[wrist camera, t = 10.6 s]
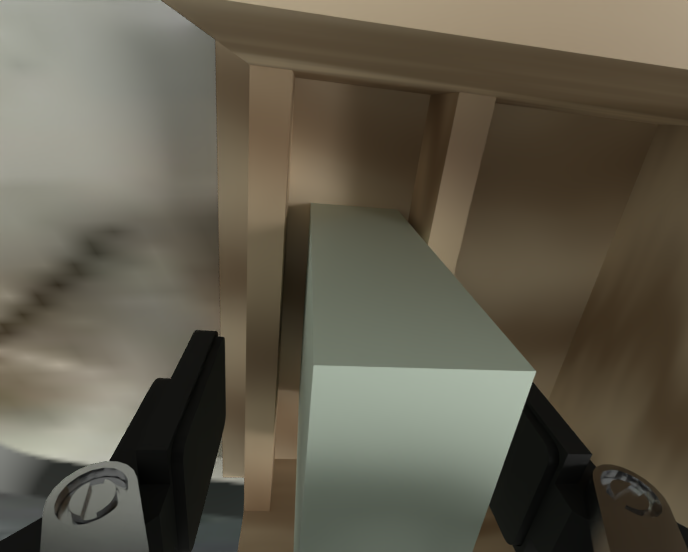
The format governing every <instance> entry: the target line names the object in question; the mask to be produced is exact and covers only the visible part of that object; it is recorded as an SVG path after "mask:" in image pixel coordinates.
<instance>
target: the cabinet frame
mask: <svg viewBox="0 0 688 552" xmlns="http://www.w3.org/2000/svg"><path fill="white" fill-rule="evenodd" d="M161 1H163V2H164V3H166V4H167V5H168V6H170V7H171V8H172V9H174V10H175V11H177V12H178V13H179V14H181V15H182V16H183V17H185V18H186V19H188V20H189V21H190V22H192V23H193V24H194V25H196V26H197V27H199V28H200V29H201V30H203V31H204V32H205V33H207V34H208V35H210V36H211V37H212V38H214V39H215V53H216V111H217V168H218V225H219V282H220V337H224V338H225V378H226V419H225V426H224V430H223V434H222V453H223V477H244V514H243V521H242V527H241V534H240V540H239V546H238V552H294V524H295V495H296V466H297V437H298V408H299V385H300V369H301V352H302V336H303V320H304V303H305V287H306V271H307V255H308V238H309V222H310V206H311V203H319V204H332V205H345V206H359V207H372V208H385V209H397V210H398V211H399V212H400V213H401V214H402V216H403V217H404V218H405V219H406V220H407V221H408V223H409V224H410V225H411V226H412V227H413V228H414V230H415V231H416V232H417V233H418V234H419V235H420V237H421V238H422V239H423V240H424V241H425V242H426V244H427V245H428V246H429V247H430V248H431V249H432V250H433V252H434V253H435V254H436V255H437V256H438V257H439V259H440V260H441V261H442V262H443V263H444V264H445V266H446V267H447V268H448V269H449V270H450V271H451V273H452V274H453V275H454V276H455V277H456V278H457V280H458V281H459V282H460V283H461V284H462V285H463V287H464V288H465V289H466V290H467V291H468V292H469V294H470V295H471V296H472V297H473V298H474V299H475V301H476V302H477V303H478V304H479V305H480V306H481V308H482V309H483V310H484V311H485V312H486V313H487V315H488V316H489V317H490V318H491V319H492V320H493V322H494V323H495V324H496V325H497V326H498V327H499V329H500V330H501V331H502V332H503V333H504V334H505V336H506V337H507V338H508V339H509V340H510V341H511V343H512V344H513V345H514V346H515V347H516V348H517V350H518V351H519V352H520V353H521V354H522V355H523V357H524V358H525V359H526V360H527V361H528V362H529V364H530V365H531V366H532V367H533V368H534V369H535V371H536V374H535V376H534V379H533V383H534V384H535V385H536V386H537V387H538V389H539V390H540V391H541V392H542V393H543V395H544V396H545V397H546V398H547V400H548V401H549V402H550V403H551V404H552V406H553V407H554V408H555V409H556V411H557V412H558V413H559V414H560V415H561V417H562V418H563V419H564V420H565V421H566V423H567V424H568V425H569V426H570V428H571V429H572V430H573V431H574V432H575V434H576V435H577V436H578V437H579V439H580V440H581V441H582V442H583V443H584V445H585V446H586V447H587V448H588V450H589V451H590V452H591V453H592V456H591V458H590V460H591V461H592V462H593V464H594V465H595V466H596V467H597V466H600V465H602V464H612V465H616V466H620V467H623V468H625V469H628V470H630V471H632V472H634V473H636V474H637V475H639V476H641V477H642V478H644V479H645V480H647V481H648V482H649V483H650V484H652V485H653V486H654V487H655V488H656V489H657V490H658V491H659V492H660V493H661V494H662V495H663V496H664V498H665V499H666V501H667V503H668V504H669V506H670V508H671V511H672V513H673V516H674V518H675V520H676V522H677V523H679V524H681V525H683V526H685V527H687V528H688V0H161ZM473 552H515V550H514V548H513V545H509V544H508V543H507V542H506V541H505V539H504V537H503V535H502V533H501V531H500V528H499V526H498V524H497V522H496V520H495V517H494V515H493V513H492V511H491V509H490V506H488V509H487V512H486V515H485V518H484V520H483V523H482V526H481V529H480V532H479V535H478V537H477V540H476V543H475V546H474V549H473Z"/></svg>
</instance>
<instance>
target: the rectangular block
mask: <svg viewBox="0 0 688 552" xmlns="http://www.w3.org/2000/svg"><path fill="white" fill-rule="evenodd" d="M535 374H536V371H535V369H534V368H533V367H532V366H531V365H530V364H529V362H528V361H527V360H526V359H525V358H524V357H523V355H522V354H521V353H520V352H519V351H518V350H517V348H516V347H515V346H514V345H513V344H512V343H511V341H510V340H509V339H508V338H507V337H506V336H505V334H504V333H503V332H502V331H501V330H500V329H499V327H498V326H497V325H496V324H495V323H494V322H493V320H492V319H491V318H490V317H489V316H488V315H487V313H486V312H485V311H484V310H483V309H482V308H481V306H480V305H479V304H478V303H477V302H476V301H475V299H474V298H473V297H472V296H471V295H470V294H469V292H468V291H467V290H466V289H465V288H464V287H463V285H462V284H461V283H460V282H459V281H458V280H457V278H456V277H455V276H454V275H453V274H452V273H451V271H450V270H449V269H448V268H447V267H446V266H445V264H444V263H443V262H442V261H441V260H440V259H439V257H438V256H437V255H436V254H435V253H434V252H433V250H432V249H431V248H430V247H429V246H428V245H427V244H426V242H425V241H424V240H423V239H422V238H421V237H420V235H419V234H418V233H417V232H416V231H415V230H414V228H413V227H412V226H411V225H410V224H409V223H408V221H407V220H406V219H405V218H404V217H403V216H402V214H401V213H400V212H399V211H398V210H397V209H385V208H372V207H359V206H345V205H332V204H319V203H311V206H310V222H309V238H308V255H307V271H306V287H305V303H304V320H303V336H302V352H301V369H300V385H299V408H298V437H297V466H296V495H295V524H294V552H473V549H474V546H475V543H476V540H477V537H478V535H479V532H480V529H481V526H482V523H483V520H484V518H485V515H486V512H487V509H488V506H489V504H490V501H491V498H492V495H493V492H494V489H495V487H496V484H497V481H498V478H499V475H500V472H501V470H502V467H503V464H504V461H505V458H506V456H507V453H508V450H509V447H510V444H511V441H512V439H513V436H514V433H515V430H516V427H517V424H518V422H519V419H520V416H521V413H522V410H523V408H524V405H525V402H526V399H527V396H528V393H529V391H530V388H531V385H532V382H533V379H534V376H535Z"/></svg>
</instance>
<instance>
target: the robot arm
mask: <svg viewBox="0 0 688 552" xmlns="http://www.w3.org/2000/svg"><path fill="white" fill-rule="evenodd" d="M225 419H226V378H225V338H224V337H218V333H217V331H202V330H196V331H195V332H194V333H193V335H192V337H191V339H190V341H189V343H188V345H187V347H186V349H185V351H184V353H183V355H182V357H181V359H180V361H179V363H178V365H177V367H176V369H175V371H174V373H173V375H172V377H171V379H167V378H157V379H156V380H155V381H154V382H153V384H152V385H151V387H150V389H149V391H148V392H147V394H146V396H145V398H144V400H143V401H142V403H141V405H140V407H139V409H138V410H137V412H136V414H135V416H134V418H133V419H132V421H131V423H130V425H129V427H128V428H127V430H126V432H125V434H124V436H123V437H122V439H121V441H120V443H119V445H118V446H117V448H116V450H115V452H114V453H113V455H112V457H111V459H110V461H104V462H99V463H95V464H91V465H88V466H86V467H84V468H81V469H79V470H77V471H75V472H74V473H72V474H71V475H69V476H68V477H66V478H65V479H64V480H63V481H62V482H60V483H59V484H58V485H57V486H56V487H55V488H54V489H53V491H52V492H51V494H50V495H49V497H48V498H47V500H46V502H45V506H44V510H43V517H42V518H40V519H38V520H37V521H35V522H33V523H31V524H30V525H28V526H26V527H24V528H23V529H21V530H19V531H17V532H16V533H14V534H12V535H10V536H9V537H7V538H5V539H3V540H2V541H0V552H191V551H192V549H193V546H194V542H195V538H196V535H197V531H198V527H199V523H200V519H201V515H202V511H203V507H204V504H205V499H206V496H207V492H208V488H209V484H210V480H211V476H212V472H213V469H214V465H215V461H216V457H217V453H218V449H219V445H220V441H221V438H222V434H223V430H224V426H225ZM591 456H592V453H591V452H590V451H589V450H588V448H587V447H586V446H585V445H584V443H583V442H582V441H581V440H580V439H579V437H578V436H577V435H576V434H575V432H574V431H573V430H572V429H571V428H570V426H569V425H568V424H567V423H566V421H565V420H564V419H563V418H562V417H561V415H560V414H559V413H558V412H557V411H556V409H555V408H554V407H553V406H552V404H551V403H550V402H549V401H548V400H547V398H546V397H545V396H544V395H543V393H542V392H541V391H540V390H539V389H538V387H537V386H536V385H535V384H534V383H533V382H532V385H531V388H530V391H529V393H528V396H527V399H526V402H525V405H524V408H523V410H522V413H521V416H520V419H519V422H518V424H517V427H516V430H515V433H514V436H513V439H512V441H511V444H510V447H509V450H508V453H507V456H506V458H505V461H504V464H503V467H502V470H501V472H500V475H499V478H498V481H497V484H496V487H495V489H494V492H493V495H492V498H491V501H490V504H489V506H490V509H491V511H492V513H493V515H494V517H495V520H496V522H497V524H498V526H499V528H500V531H501V533H502V535H503V537H504V539H505V541H506V542H507V543H508V544H509V545H513V548H514V550H515V552H688V528H687V527H685V526H683V525H681V524H679V523H677V522H676V520H675V518H674V516H673V513H672V511H671V508H670V506H669V504H668V503H667V501H666V499H665V498H664V496H663V495H662V494H661V493H660V492H659V491H658V490H657V489H656V488H655V487H654V486H653V485H652V484H650V483H649V482H648V481H647V480H645V479H644V478H642V477H641V476H639V475H637V474H636V473H634V472H632V471H630V470H628V469H625V468H623V467H620V466H616V465H612V464H602V465H600V466H597V467H596V466H595V465H594V464H593V462H592V461H591V460H590V458H591Z"/></svg>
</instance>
